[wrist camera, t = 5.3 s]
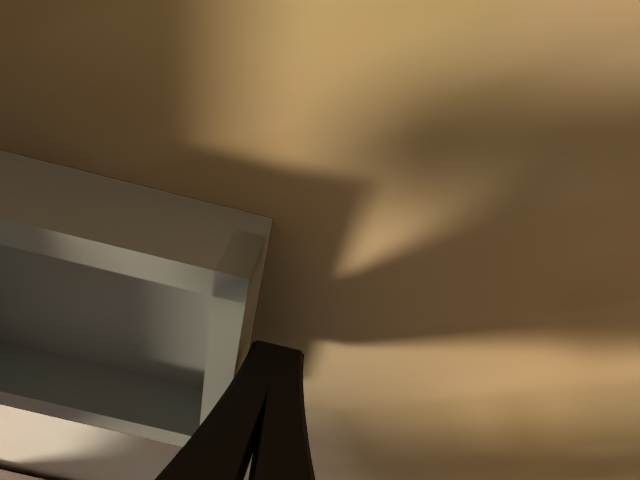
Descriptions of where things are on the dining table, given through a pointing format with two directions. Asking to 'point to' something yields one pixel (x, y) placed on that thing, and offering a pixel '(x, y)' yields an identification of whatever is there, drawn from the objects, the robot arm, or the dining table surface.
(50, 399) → the tray
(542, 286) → the dining table surface
